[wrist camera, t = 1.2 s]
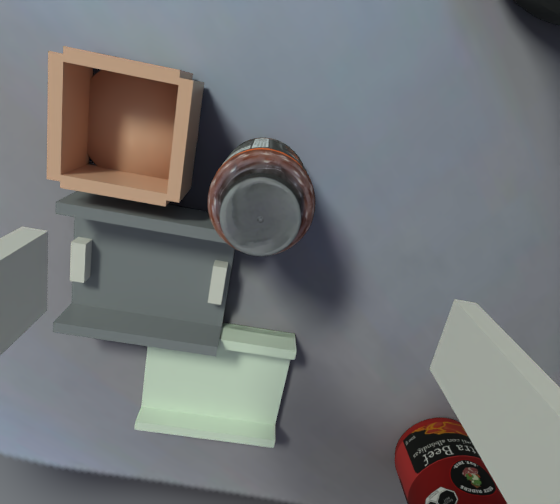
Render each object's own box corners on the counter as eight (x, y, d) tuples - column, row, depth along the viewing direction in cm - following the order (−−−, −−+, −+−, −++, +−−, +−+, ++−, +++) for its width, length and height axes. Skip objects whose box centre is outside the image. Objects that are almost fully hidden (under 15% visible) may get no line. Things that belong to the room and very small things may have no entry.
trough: (294, 333, 36) (296, 351, 33) (273, 425, 39) (273, 447, 37) (153, 311, 35) (144, 327, 32) (143, 408, 38) (134, 429, 36)
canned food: (481, 414, 39) (558, 529, 29) (465, 481, 42) (529, 608, 32) (398, 413, 39) (444, 528, 29) (387, 481, 42) (426, 608, 31)
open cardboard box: (205, 76, 29) (194, 73, 24) (191, 192, 32) (178, 208, 27) (83, 51, 28) (48, 43, 24) (78, 172, 31) (46, 185, 26)
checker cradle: (240, 217, 32) (236, 233, 29) (221, 328, 36) (215, 356, 32) (81, 189, 31) (55, 201, 28) (76, 306, 35) (53, 332, 31)
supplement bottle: (318, 194, 32) (343, 244, 21) (247, 231, 33) (238, 297, 22) (280, 120, 30) (287, 133, 19) (206, 160, 31) (174, 195, 20)
